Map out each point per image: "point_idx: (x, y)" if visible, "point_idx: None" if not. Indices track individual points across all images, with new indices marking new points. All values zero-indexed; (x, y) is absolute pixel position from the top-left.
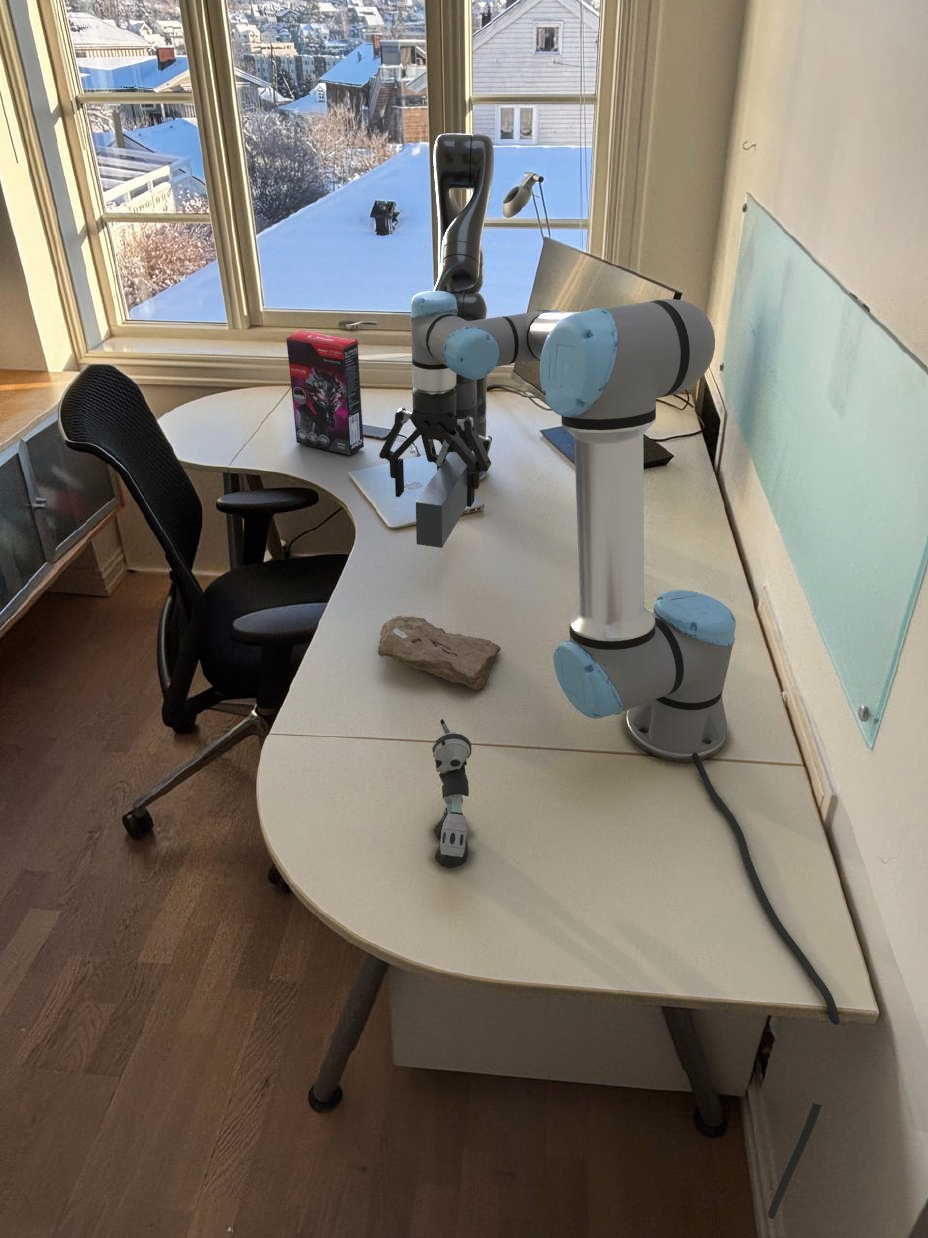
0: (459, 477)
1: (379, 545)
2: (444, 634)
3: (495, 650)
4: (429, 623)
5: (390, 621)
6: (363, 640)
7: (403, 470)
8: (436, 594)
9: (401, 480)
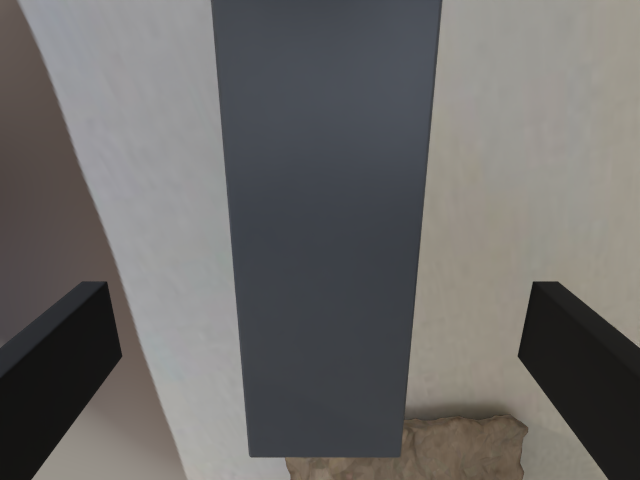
0: (435, 54)
1: (81, 27)
2: (419, 461)
3: (520, 446)
4: None
5: None
6: None
7: (7, 376)
8: None
9: (62, 379)
